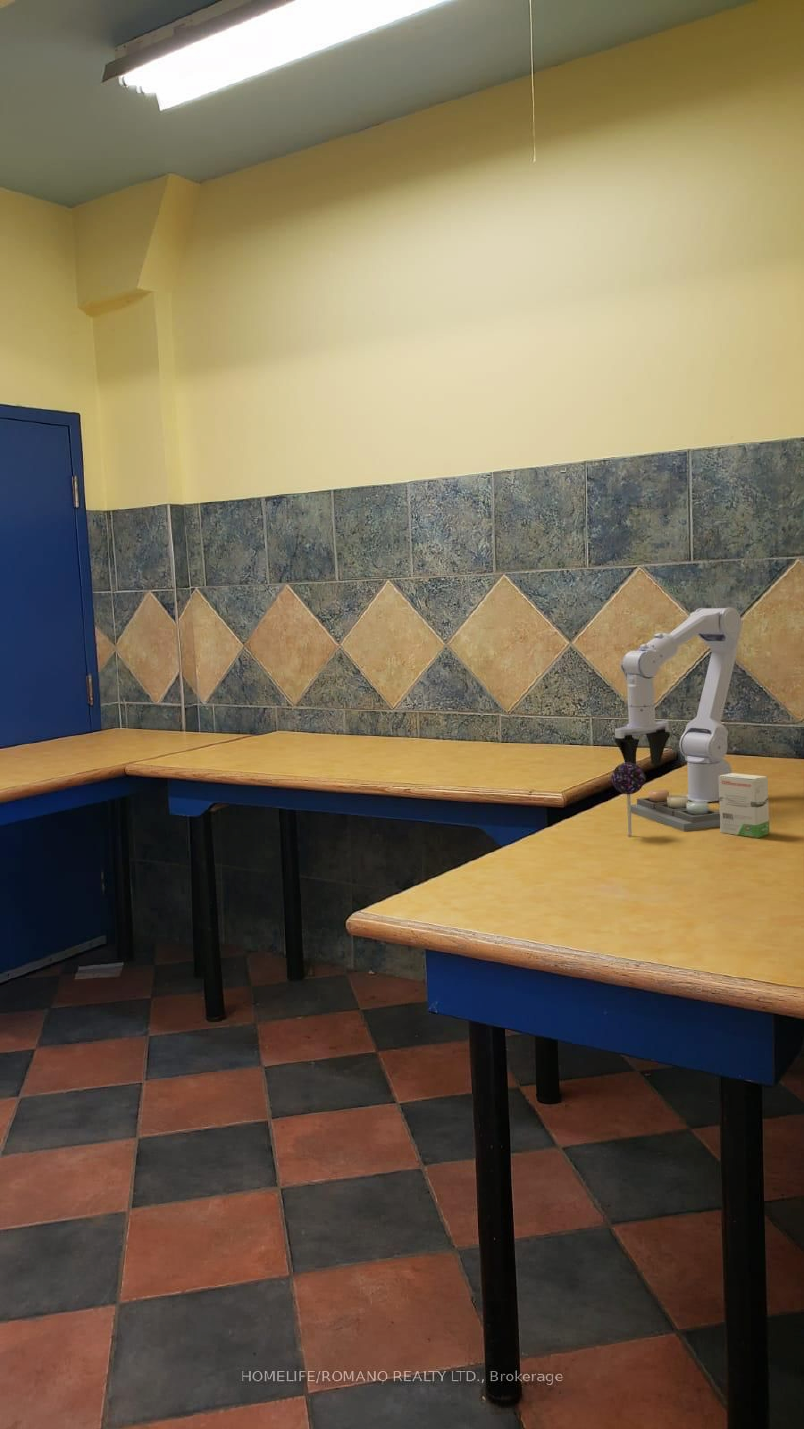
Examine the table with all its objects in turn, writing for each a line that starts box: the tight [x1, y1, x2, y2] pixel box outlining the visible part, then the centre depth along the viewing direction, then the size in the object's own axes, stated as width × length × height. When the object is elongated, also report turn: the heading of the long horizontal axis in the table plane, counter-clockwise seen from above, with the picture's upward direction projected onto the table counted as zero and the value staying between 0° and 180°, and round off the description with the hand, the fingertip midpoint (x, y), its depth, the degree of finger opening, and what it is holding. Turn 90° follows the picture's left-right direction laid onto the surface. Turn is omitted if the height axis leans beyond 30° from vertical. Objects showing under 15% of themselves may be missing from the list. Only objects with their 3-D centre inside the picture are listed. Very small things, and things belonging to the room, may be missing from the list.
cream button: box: [667, 794, 689, 808], centre depth 231 cm, size 4×4×2 cm
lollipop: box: [610, 762, 647, 837], centre depth 218 cm, size 7×7×15 cm
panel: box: [631, 796, 720, 832], centre depth 232 cm, size 11×22×3 cm, turn 18°
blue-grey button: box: [686, 801, 710, 814], centre depth 224 cm, size 4×4×2 cm
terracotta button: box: [648, 789, 670, 802], centre depth 238 cm, size 4×4×2 cm
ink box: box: [718, 772, 771, 839], centre depth 215 cm, size 9×5×12 cm, turn 39°
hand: (643, 766), depth 238 cm, fingers open, 7 cm apart
